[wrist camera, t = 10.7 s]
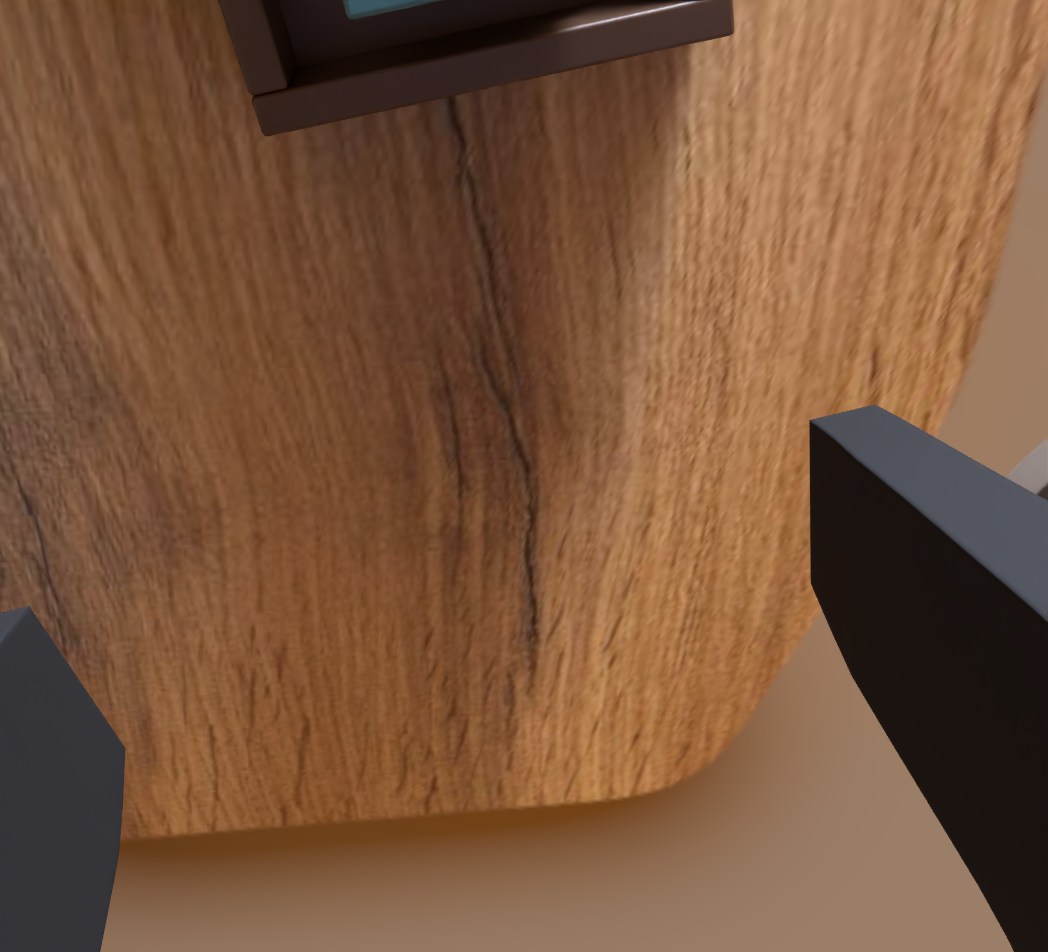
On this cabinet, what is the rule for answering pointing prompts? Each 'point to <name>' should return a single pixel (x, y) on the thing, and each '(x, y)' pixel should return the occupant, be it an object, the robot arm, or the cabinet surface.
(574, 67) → the long brown tray
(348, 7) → the toy truck block
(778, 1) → the cabinet surface
